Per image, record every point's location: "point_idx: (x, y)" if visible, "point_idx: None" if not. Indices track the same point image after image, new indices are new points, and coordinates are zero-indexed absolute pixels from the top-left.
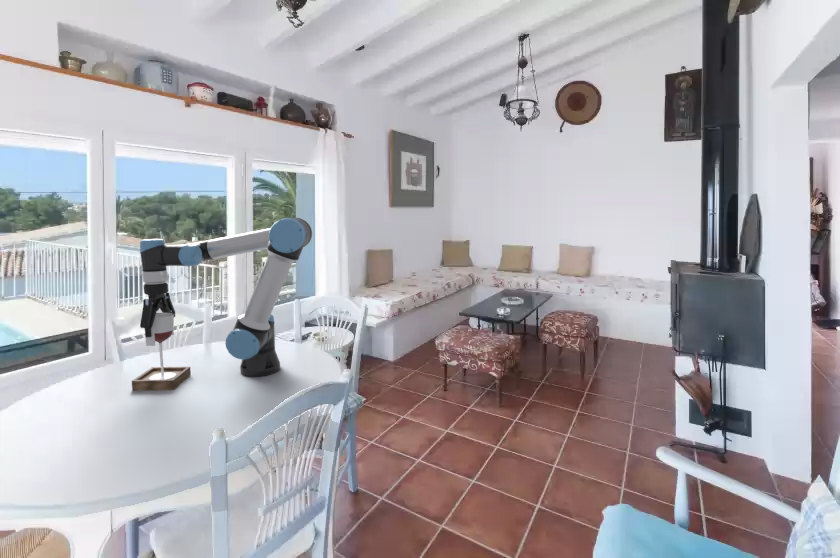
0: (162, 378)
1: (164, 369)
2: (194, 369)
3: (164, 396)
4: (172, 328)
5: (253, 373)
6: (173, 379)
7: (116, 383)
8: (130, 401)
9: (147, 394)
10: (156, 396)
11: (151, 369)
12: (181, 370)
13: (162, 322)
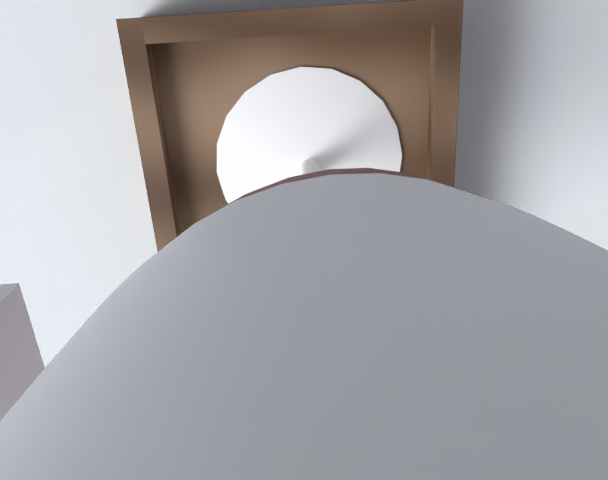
0: (371, 133)
1: (177, 224)
2: (3, 58)
3: (555, 5)
4: (319, 183)
5: None
6: (440, 6)
7: None
8: (601, 187)
9: (502, 146)
10: (546, 65)
11: None
12: (165, 84)
13: None
